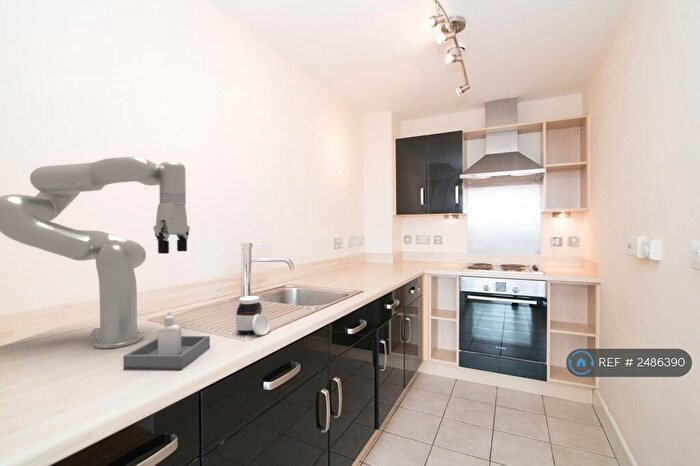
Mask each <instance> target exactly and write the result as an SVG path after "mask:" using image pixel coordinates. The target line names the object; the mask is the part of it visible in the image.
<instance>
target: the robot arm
mask: <svg viewBox="0 0 700 466" xmlns="http://www.w3.org/2000/svg"><path fill="white" fill-rule="evenodd" d="M29 180H30V181H29V182H30V183H31V185H32V186H33V187H34V188H35V189H36V190H37V191H39V192H38V193H37V194H36V195H35V196H32V195H25V194H17V193H16V194H14V193H13V194H4V195H1V196H0V233H1V234H3V235H4V236H6V237H7V238H9V239H11V240H13V241H16V242H18V243H20V244H22V245H23V244H24V245H26V246H29V247H33V248H36V249H39V250H43V251H45V252H49V253H52V254H54V255H55V254H56V255H58V256H62V257H64V258H67V259H70V260H73V261H79V262H80V261H92V260H95V266H96V271H97V277H98V288H99V291H98V292H99V293H98V294H99V328H98V327H97V328H93V329H92V331H90V332H89V337H96V340H94V342H93V347H94V348H96V349H103V350H104V349H106V350H107V349H116V348H121V347H125V346H129V345H133V344H135V343H137V342H141V340H143V339H144V334H143V332H140V331H138V296H137V295H138V292H137V290H138V288H137V277H136V273H135V269H137V268H138V267H140V266H142V264H143V263H144V262H145V261H146V258H147V252H146V250H145V249H144V246H142V245H141V244H139V243H137V242H135V241H133V240H130V239H127V238H124V237H121V236H117V235H114V234H111V233H108V232H105V231H100V230H80V229H75V228H71V227H68V226H64V225H62V224H59V223H56V222H52V221H53V220H54V219H56V218H57V217H58V216H59V215H60V214H61V213H63V211H65V210H66V208H67V207H68V206H69V205H71V203H72V202H74V200H75V199H76V198H77V197H78V196H79V195H80V193H81V192H82V193H83V192H95V191H101V190H103V189H104V188H105V186H107V185H112V184H117V183H119V184H121V183H130V182H133V183H134V182H138V183H140V184H142V185H145V186H152V187H153V186H159V187H158V188H159V191H158V192H159V203H158V205H157V210H156V220H155V225H154V226H153V231H154V236H155V237H156V241H157V253H158V254H159V255H161V254H163V255H164V254H169V253H170V240H168V239H169V237H170V236H172V235H175V236H176V237H177V239H176V247H177V248H176V250H177V251H176V252H188V239H189V237H188V236H189V235H190V233H189V232H190V229H191V228H190V226H189V225H188V216H187V209H186V200H187V199H186V196H187V195H186V190H187V189H186V187H187V186H186V167H185V165H184V164H182V163H180V162H175V161H164V162H161V163H159V164H157V163H155V162H152V161H150V160H149V159H146V157H145V158H144V157H140V156H123V157H122V156H120V157H110V158H109V157H108V158H104V159H101V160H97V161H93V162H87V163H73V164H58V165H46V166H45V165H44V166H40V167H37V168H35V169H34V170H33V171H31V173H30V175H29Z"/></svg>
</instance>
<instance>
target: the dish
mask: <svg viewBox="0 0 700 466" xmlns="http://www.w3.org/2000/svg"><path fill="white" fill-rule="evenodd" d="M210 348H211V337H210V335H181V353H180V354H179V355H158V337H156V338H154V339H152V340H151V341H148V342H147V343H145V344H143V345H141V346H139V347H137V348H135V349H134V350H132V351H130V352H128V353H126V354H125V355H123V370H130V371H132V370H133V371H134V370H140V371H145V370H146V371H150V370H151V371H182V370H183V369H185V368H186V367H187V366H188V365H190V364H191V363H192V362H194V361H196V359H197V358H198V357H200V356H201V355H203V354H204V353H205V352H206V351H207V350H209V349H210Z"/></svg>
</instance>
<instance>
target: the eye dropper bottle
mask: <svg viewBox="0 0 700 466" xmlns="http://www.w3.org/2000/svg"><path fill="white" fill-rule="evenodd" d="M163 319H164V320H163V321H164V322H163V323H164V324H163V325H161V326H160V327H159V328H158V329H157V338H158V355H179V354H180V353H181V336H182V327H181V325H178V324H176V323H175V315H172V313H171V311H167V314H166V316H165V317H163Z"/></svg>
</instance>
